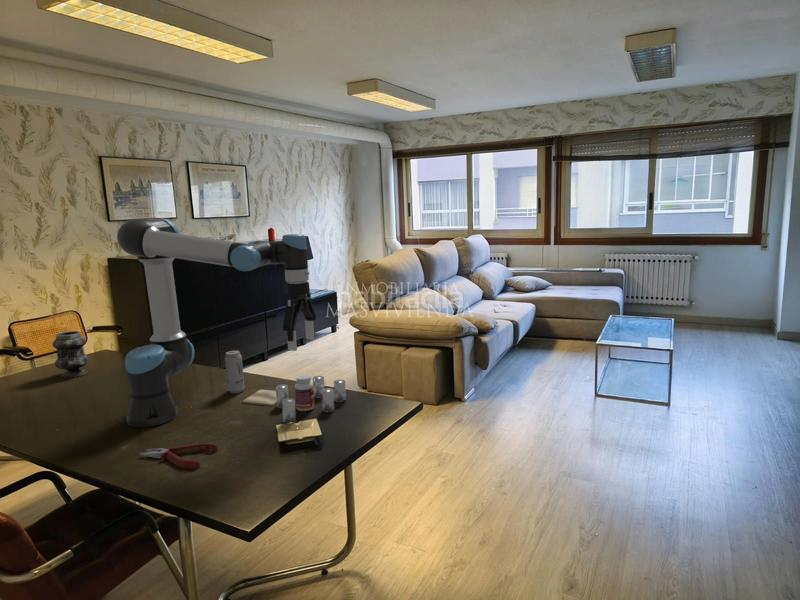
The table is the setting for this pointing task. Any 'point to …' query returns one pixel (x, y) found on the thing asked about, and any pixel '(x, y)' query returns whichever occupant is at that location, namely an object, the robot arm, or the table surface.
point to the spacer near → (289, 410)
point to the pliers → (174, 451)
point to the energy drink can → (234, 371)
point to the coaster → (262, 398)
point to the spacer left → (281, 394)
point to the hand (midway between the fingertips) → (301, 344)
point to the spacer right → (327, 399)
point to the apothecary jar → (70, 353)
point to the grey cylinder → (339, 390)
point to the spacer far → (318, 385)
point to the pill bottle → (304, 393)
